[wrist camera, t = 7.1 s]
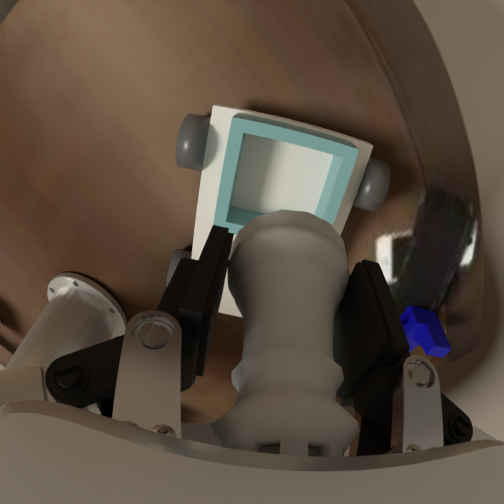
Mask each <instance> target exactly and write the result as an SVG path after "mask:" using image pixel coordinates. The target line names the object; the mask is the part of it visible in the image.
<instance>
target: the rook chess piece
mask: <svg viewBox="0 0 504 504" xmlns="http://www.w3.org/2000/svg"><path fill="white" fill-rule="evenodd" d="M227 279H228V288H229V291H230V293H231V295H232V297H233V298H234V300H235V304H236V306H237V308H238V310H239V311H240V313H241V315H242V318H243V338H244V348H243V355H242V361H240V363H239V364H238V365H237V366H236V367H235V368H234V370H233V371H232V372H231V375H232V384H233V386H234V387H235V388H236V389H237V391H238V392H239V395H238V398H237V402H236V404H235V405H234V406H233V407H232V408H231V409H230V410H229V411H227V412H226V413H225V414H224V415H223V416H222V417H220V418H219V419H218V420H217V421H216V422H215V423H213V424H212V428H213V433H214V435H215V437H216V439H217V440H218V442H219V443H220V445H221V447H224V448H230V449H237V450H244V451H251V452H259V453H269V454H280V455H293V456H315V457H344V452H345V451H346V449H347V448H348V447H349V445H350V444H351V442H352V441H353V440H354V438H355V437H356V435H357V434H358V432H359V425H358V421H357V420H356V419H355V418H354V417H352V416H351V415H350V414H349V413H348V412H347V411H346V410H345V409H344V408H343V407H342V406H341V405H339V404H338V403H337V402H336V392H337V390H338V389H339V387H340V385H341V384H342V382H343V380H344V376H343V371H342V367H341V366H339V365H338V364H337V363H336V362H335V361H334V355H333V332H334V314H335V313H336V312H337V311H338V308H339V304H340V302H341V300H342V299H343V297H344V294H345V291H346V288H347V284H348V281H349V269H348V263H347V255H346V250H345V246H344V241H343V239H342V238H341V237H340V235H339V234H338V233H337V231H336V230H335V229H334V228H333V226H332V225H331V224H330V223H329V222H327V221H325V220H323V219H321V218H319V217H317V216H315V215H313V214H311V213H309V212H304V211H293V210H283V209H282V210H278V211H275V212H271V213H267V214H264V215H260V216H257V217H256V218H255V219H253V220H252V221H251V222H249V223H248V224H247V225H245V226H244V227H243V228H242V229H240V230H239V231H238V233H237V235H236V237H235V239H234V241H233V243H232V247H231V252H230V257H229V262H228V267H227Z"/></svg>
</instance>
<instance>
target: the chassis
mask: <svg viewBox="0 0 504 504" xmlns="http://www.w3.org/2000/svg"><path fill="white" fill-rule="evenodd" d="M372 148H373V145H371V144H370V143H368V142H366V141H363V140H360V139H357V138H354V137H351V136H348V135H345V134H341V133H338V132H335V131H332V130H328V129H325V128H321V127H318V126H314V125H311V124H307V123H303V122H300V121H296V120H292V119H288V118H284V117H279V116H275V115H271V114H266V113H261V112H257V111H252V110H247V109H242V108H236V107H231V106H225V105H219V104H215V105H213V108H212V114H211V117H209V116H203V115H196V114H188V115H187V116H186V117H185V119H184V121H183V123H182V125H181V128H180V131H179V135H178V139H177V145H176V163H177V165H178V166H179V167H183V168H189V169H194V170H200V171H202V175H201V183H200V190H199V197H198V205H197V213H196V221H195V229H194V238H193V247H192V252H189V251H184V250H180V249H176V250H175V252H174V254H173V256H172V259H171V262H170V265H169V270H168V275H167V286H168V284H169V282H170V280H171V278H172V276H173V273H174V271H175V269H176V267H177V265H178V263H179V261H180V259H181V258H182V257H186V258H191V259H195V260H198V259H199V257H200V255H201V252H202V250H203V247H204V245H205V242H206V240H207V238H208V235H209V233H210V231H211V228H212V226H213V225H217V226H222V227H226V228H229V233H234V237H233V241H234V239H235V237H236V235H237V233H238V231H239V230H240V229H242V228H243V227H244V226H245V225H247V224H248V223H249V222H251V221H252V220H253V219H255V218H256V217H257V216H260V215H264V214H267V213H271V212H275V211H278V210H282V209H283V210H293V211H304V212H309V213H311V214H313V215H315V216H317V217H319V218H321V219H323V220H325V221H327V222H329V223H330V224H331V225H332V226H333V228H334V229H335V230H336V231H337V233H338V234H339V235H341V233H342V230H343V228H344V225H345V223H346V220H347V218H348V215H349V213H350V210H351V207H352V206H353V207H356V208H360V209H363V210H367V211H370V212H375V211H377V210H378V209H379V208H380V207H381V205H382V204H383V202H384V200H385V198H386V195H387V192H388V189H389V184H390V169H389V166H388V164H387V163H386V162H384V161H381V160H378V159H375V158H372V157H370V154H371V151H372ZM232 243H233V242H232ZM218 312H219V313H224V314H229V315H233V316H238V317H242V315H241V313H240V311H239V310H238V308H237V306H236V304H235V300H234V298H233V297H232V295H231V293H230V291H229V288H228V279H227V273H226V278H225V283H224V288H223V294H222V298H221V302H220V306H219V310H218Z"/></svg>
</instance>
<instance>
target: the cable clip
mask: <svg viewBox="0 0 504 504" xmlns="http://www.w3.org/2000/svg"><path fill="white" fill-rule="evenodd" d="M400 320H401V322H402V325H403V328H404V331H405V334H406V337H407V340H408V343H409V346H410V349H409V352H410V351H411V350H412V349H413V348H415V347H417V346H418V345H421V346H422V348H423V349H424V351H425V353H426V355H431V356H436V357H444V356H445V355H446V354H447V353H448V352H449V351H450V350H451V346H450V344H449V342H448V339H447V337H446V335H445V332H444V330H443V328H442V326H441V324H440V321H439V319H438V317H437V315H436V313H435V312H432V311H429V310H426V309H422V308H419V307H416V306H413V305H409V307H408V308H407V309H406V310H405V311H404V313H403V314H402V315H401V316H400Z"/></svg>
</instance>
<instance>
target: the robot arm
mask: <svg viewBox="0 0 504 504" xmlns="http://www.w3.org/2000/svg"><path fill="white" fill-rule="evenodd" d="M233 237H234V233H229V228H226V227H222V226H217V225H213V226H212V228H211V231H210V233H209V235H208V238H207V240H206V242H205V245H204V247H203V250H202V252H201V255H200V257H199V259H198V260H195V259H191V258H186V257H182V258H181V259H180V261H179V263H178V265H177V267H176V269H175V271H174V273H173V276H172V278H171V280H170V282H169V284H168V286H167V288H166V290H165V292H164V295H163V297H162V299H161V301H160V303H159V306H158V308H157V310H147V311H144V312H140V313H138V314H137V315H135V316H133V317H132V318H131V320H130V321H129V322H128V323H127V319H126V316H125V314H124V312H123V310H122V309H121V307H120V305H119V304H118V303H117V301H116V300H115V299H114V298H113V297H112V296H111V295H110V294H109V293H108V292H107V291H106V290H105V289H104V288H102V287H101V286H100V285H98V284H97V283H95V282H94V281H92V280H90V279H88V278H86V277H84V276H81V275H79V274H75V273H61V274H58V275H56V276H55V277H54V278H53V279H52V281H51V282H50V283H49V285H48V291H47V294H48V299H49V303H48V305H47V306H46V307H45V309H44V310H43V311H42V313H41V314H40V316H39V317H38V319H37V320H36V321H35V323H34V324H33V326H32V327H31V329H30V330H29V332H28V333H27V335H26V336H25V338H24V339H23V341H22V342H21V344H20V345H19V347H18V348H17V350H16V352H15V353H14V355H13V356H12V358H11V360H10V361H9V363H8V365H7V366H6V368H5V370H0V504H504V442H503V441H500V440H496V439H495V438H493V437H491V436H490V435H488V434H486V433H485V432H483V431H482V430H480V429H478V428H477V427H475V426H473V427H472V423H471V421H470V419H469V417H468V416H467V415H466V414H465V413H464V412H463V411H462V410H461V409H459V408H458V407H457V406H456V405H455V404H454V403H453V402H451V401H450V400H449V399H448V398H447V397H446V396H445V395H443V394H442V393H441V392H440V385H439V377H438V373H437V371H436V369H435V367H434V366H433V365H432V363H431V362H430V361H428V360H427V359H426V358H424V357H421V356H417V355H413V356H410V354H409V349H410V346H409V343H408V340H407V337H406V334H405V331H404V328H403V325H402V322H401V320H400V317H399V314H398V311H397V308H396V306H395V303H394V300H393V298H392V295H391V292H390V290H389V287H388V285H387V282H386V280H385V277H384V275H383V272H382V270H381V267H380V265H379V263H377V262H373V261H369V260H365V259H364V260H362V261H361V263H360V262H358V263H357V264H356V265H355V267H354V269H353V271H352V273H351V275H350V277H349V281H348V284H347V288H346V291H345V294H344V297H343V299H342V300H341V302H340V304H339V308H338V311H337V312H336V313H335V314H334V332H333V355H334V361H335V362H336V363H337V364H338V365H339V366H341V367H342V371H343V376H344V380H343V382H342V384H341V385H340V387H339V389H338V390H337V396H338V397H341V405H342V406H354V408H355V411H356V414H355V419H356V420H357V421H358V425H359V432H358V434H357V435H356V437H355V438H354V440H353V441H352V442H351V445H350V451H349V456H348V457H315V456H293V455H280V454H269V453H259V452H251V451H244V450H237V449H230V448H224V447H219V446H213V445H208V444H203V443H198V442H194V441H189V440H185V439H181V400H180V392H182V391H184V390H186V389H188V388H190V387H191V386H192V384H194V382H195V378H196V375H197V376H201V377H202V376H203V372H204V368H205V364H206V360H207V356H208V351H209V347H210V343H211V339H212V335H213V331H214V327H215V323H216V319H217V314H218V310H219V306H220V302H221V298H222V294H223V288H224V283H225V278H226V273H227V267H228V262H229V257H230V252H231V247H232V242H233Z"/></svg>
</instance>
